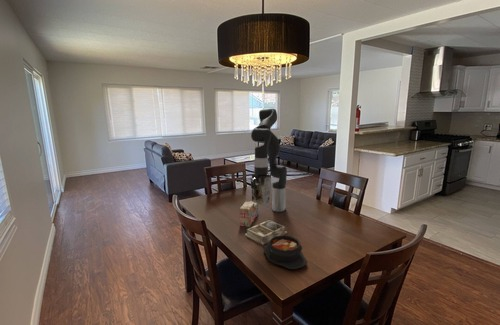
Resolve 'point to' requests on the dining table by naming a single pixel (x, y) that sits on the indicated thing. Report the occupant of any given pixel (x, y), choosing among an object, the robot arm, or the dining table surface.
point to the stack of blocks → (248, 213)
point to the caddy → (265, 231)
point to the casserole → (285, 252)
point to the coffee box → (262, 190)
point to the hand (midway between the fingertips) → (261, 194)
